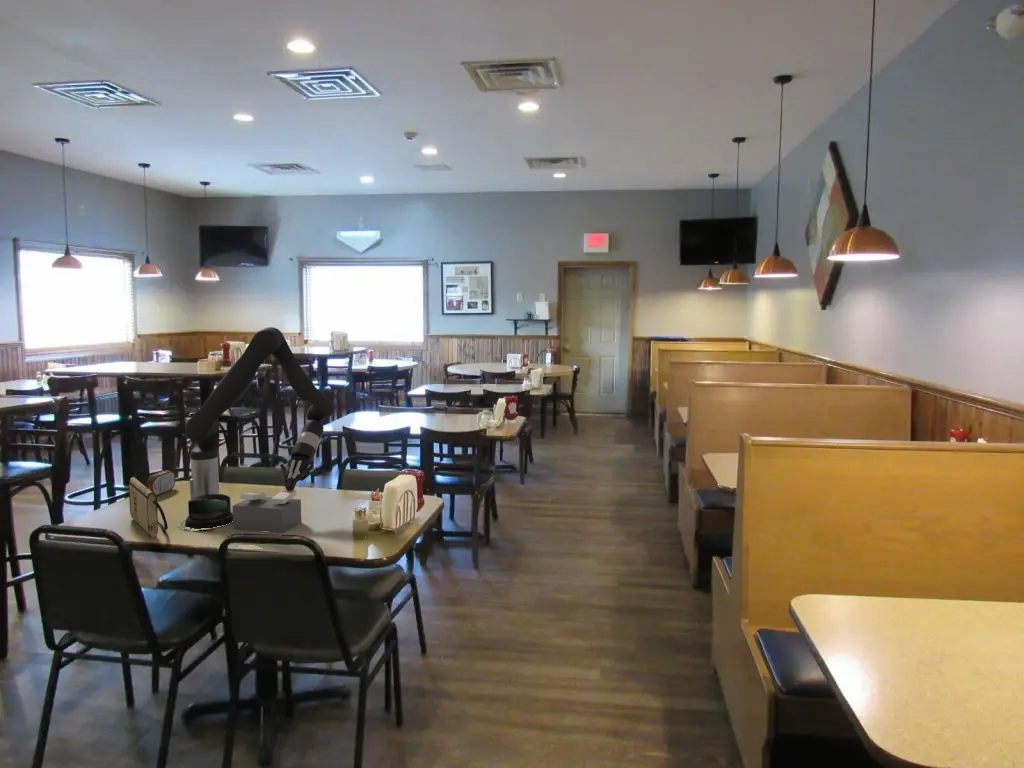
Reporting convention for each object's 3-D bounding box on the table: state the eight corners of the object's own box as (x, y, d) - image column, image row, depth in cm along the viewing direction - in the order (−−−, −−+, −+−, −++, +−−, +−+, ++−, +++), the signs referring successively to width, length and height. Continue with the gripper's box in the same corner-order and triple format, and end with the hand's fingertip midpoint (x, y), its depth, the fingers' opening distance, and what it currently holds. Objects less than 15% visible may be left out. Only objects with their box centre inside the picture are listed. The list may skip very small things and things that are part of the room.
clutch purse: (174, 535, 223) (171, 490, 221) (150, 540, 218) (147, 494, 216) (150, 514, 245) (148, 473, 243) (128, 518, 241) (126, 476, 239)
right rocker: (284, 493, 236) (284, 488, 236) (296, 494, 235) (296, 489, 235) (271, 503, 229) (271, 498, 228) (284, 503, 228) (283, 499, 227)
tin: (170, 488, 280) (169, 467, 279) (177, 488, 280) (176, 468, 279) (145, 498, 266) (144, 476, 265) (153, 498, 265) (152, 477, 264)
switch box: (254, 518, 241) (253, 494, 240) (301, 522, 237) (300, 497, 236) (233, 529, 229) (232, 503, 228) (282, 533, 225) (281, 507, 224)
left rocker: (254, 496, 237) (254, 491, 237) (265, 497, 236) (266, 492, 236) (240, 499, 229) (240, 493, 229) (252, 500, 228) (252, 494, 228)
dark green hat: (234, 511, 250) (233, 486, 249) (247, 525, 234) (246, 498, 233) (174, 520, 239) (172, 494, 238) (184, 536, 223) (182, 508, 222)
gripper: (284, 440, 244) (266, 483, 233) (319, 442, 241) (302, 484, 230) (293, 452, 249) (275, 494, 239) (326, 454, 247) (310, 496, 236)
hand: (288, 489), depth 234 cm, fingers closed
